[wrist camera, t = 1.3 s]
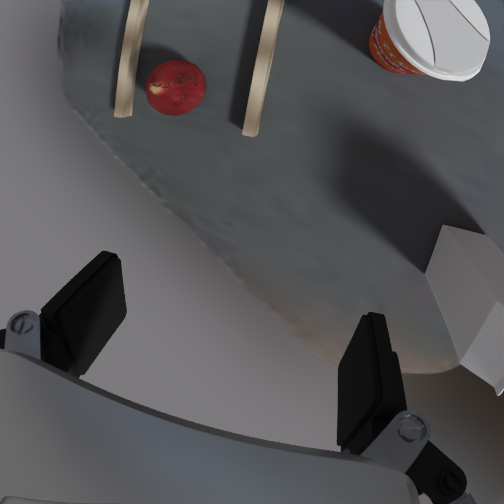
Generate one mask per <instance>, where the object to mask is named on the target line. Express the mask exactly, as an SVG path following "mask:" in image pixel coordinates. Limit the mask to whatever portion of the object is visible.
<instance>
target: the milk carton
mask: <svg viewBox="0 0 504 504" xmlns="http://www.w3.org/2000/svg"><path fill="white" fill-rule="evenodd" d="M425 277H426V279H427V281H428V283H429V286H430V288H431V290H432V292H433V295H434V297H435V299H436V302H437V304H438V306H439V309H440V311H441V313H442V316H443V318H444V321H445V323H446V326H447V329H448V331H449V334H450V336H451V339H452V342H453V344H454V347H455V350H456V353H457V356H458V359H459V361H460V364H461V365H463V366H465V367H466V368H467V369H469V370H470V371H472V372H473V373H475V374H476V375H478V376H479V377H480V378H482V379H483V380H485V381H486V382H488V383H489V384H490V385H492V386H493V387H494V388H495V390H496V393H497V396H499V395H500V394H501V393H502V392H503V391H504V254H503V253H502V252H501V251H500V250H499V248H498V247H497V246H496V245H495V244H494V243H493V242H492V241H491V239H490V238H489V237H488V236H487V235H483V234H480V233H476V232H472V231H468V230H464V229H460V228H456V227H452V226H447V225H442V227H441V230H440V233H439V236H438V239H437V242H436V245H435V248H434V251H433V253H432V256H431V259H430V261H429V264H428V267H427V269H426V272H425Z"/></svg>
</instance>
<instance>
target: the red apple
mask: <svg viewBox="0 0 504 504" xmlns="http://www.w3.org/2000/svg"><path fill="white" fill-rule="evenodd" d="M205 90H206V81H205V76H204V74H203V73H202V72H201V70H200V69H199V68H198V67H197V66H196V65H195V64H192V63H190V62H188V61H186V60H170V61H167V62H165V63H162V64H160V65H159V66H157V67H156V68H155V69H154V70H153V71H151V73H150V75H149V77H148V79H147V81H146V90H145V91H146V95H147V100H148V101H149V103H150V104H151V106H152V107H153V108H154V109H155V110H157V111H159V112H160V113H162V114H164V115H171V116H178V115H182V114H185V113H188V112H189V111H191V110H192V109H194V108H195V107H197V106H198V105H199V103H200V102H201V100H202V99H203V98H204V94H205Z"/></svg>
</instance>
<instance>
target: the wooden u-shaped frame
mask: <svg viewBox="0 0 504 504" xmlns="http://www.w3.org/2000/svg"><path fill="white" fill-rule="evenodd" d="M284 1H285V0H269V1H268V5H267V10H266V14H265V19H264V24H263V29H262V34H261V38H260V43H259V48H258V53H257V58H256V63H255V68H254V73H253V79H252V84H251V89H250V94H249V99H248V105H247V110H246V116H245V121H244V127H243V132H242V135H246V136H251V137H255V136H256V135H257V134H258V129H259V124H260V118H261V113H262V108H263V103H264V98H265V93H266V88H267V83H268V78H269V73H270V68H271V63H272V58H273V53H274V48H275V44H276V39H277V34H278V29H279V24H280V20H281V15H282V10H283V5H284ZM148 5H149V0H131V4H130V8H129V13H128V18H127V23H126V29H125V34H124V40H123V46H122V52H121V59H120V66H119V74H118V82H117V92H116V102H115V113H114V117H121V118H123V117H128V116H132V107H133V98H134V89H135V81H136V73H137V66H138V59H139V53H140V46H141V41H142V35H143V29H144V24H145V19H146V14H147V9H148Z"/></svg>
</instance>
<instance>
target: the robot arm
mask: <svg viewBox="0 0 504 504" xmlns="http://www.w3.org/2000/svg"><path fill="white" fill-rule="evenodd" d="M41 312H42V313H41V314H40V315H39V316H38V314H37V313H35V312H33V311H29V310H26V311H21V312H18V313H16V314H14V315H13V316H12V317H11V318H10V319H9V321H8V323H7V328H6V329H2V330H0V504H477V503H476V501H475V500H474V498H473V496H472V495H471V493H469V494H468V495H467V493H466V492H465V489H466V485H467V480H466V476H465V474H464V472H463V471H462V470H461V468H460V467H458V466H457V465H456V464H455V463H454V462H453V461H451V459H449V458H448V457H447V456H446V455H444V453H443V452H441V451H440V450H439V449H438V448H437V447H436V446H435V445H433V444H432V443H431V442H430V441H429V437H430V426H429V424H428V422H427V421H426V419H425V418H424V417H423V416H422V415H421V414H419V413H417V412H414V411H407V405H406V399H405V393H404V387H403V381H402V375H401V370H400V365H399V360H398V356H397V353H396V352H393V351H392V348H391V343H390V338H389V333H388V328H387V324H386V319H385V316H384V315H383V314H379V313H374V312H369V313H368V314H367V315H363V316H362V317H361V319H360V322H359V324H358V326H357V328H356V330H355V332H354V335H353V337H352V339H351V341H350V343H349V345H348V347H347V349H346V351H345V353H344V355H343V357H342V359H341V361H340V363H339V367H338V419H337V445H338V446H341V452H335V451H329V450H321V449H314V448H308V447H302V446H296V445H290V444H285V443H279V442H273V441H268V440H263V439H258V438H254V437H249V436H244V435H240V434H236V433H232V432H228V431H224V430H220V429H216V428H213V427H209V426H205V425H202V424H198V423H195V422H191V421H188V420H185V419H182V418H178V417H175V416H172V415H169V414H166V413H163V412H160V411H157V410H155V409H151V408H149V407H146V406H143V405H140V404H138V403H135V402H133V401H130V400H127V399H125V398H122V397H120V396H117V395H115V394H113V393H110V392H108V391H106V390H103V389H101V388H99V387H96V386H94V385H92V384H90V383H88V382H85V381H83V380H81V379H79V377H80V375H84V374H85V373H86V372H87V370H88V369H89V367H90V366H91V364H92V363H93V362H94V360H95V359H96V357H97V356H98V355H99V353H100V352H101V350H102V349H103V347H104V346H105V345H106V343H107V342H108V340H109V339H110V338H111V336H112V335H113V333H114V332H115V331H116V329H117V328H118V327H119V325H120V324H121V323H122V321H123V320H124V318H125V316H126V313H127V309H126V302H125V294H124V286H123V277H122V267H121V260H120V259H119V258H118V256H117V254H115V253H111V252H108V251H102V252H101V253H100V254H98V255H97V256H96V257H95V258H94V259H93V260H92V261H91V262H89V264H87V265H86V266H85V267H84V268H83V269H82V270H81V271H80V272H79V273H78V274H77V275H75V276H74V277H73V278H72V279H71V280H70V281H69V282H68V283H67V284H66V285H65V286H64V287H63V288H62V289H61V290H60V291H59V292H58V293H57V294H56V295H55V296H54V297H53V298H52V299H51V300H50V301H49V302H48V303H47V304H46V305H45V306H44V307H43V308H42V309H41Z"/></svg>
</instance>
